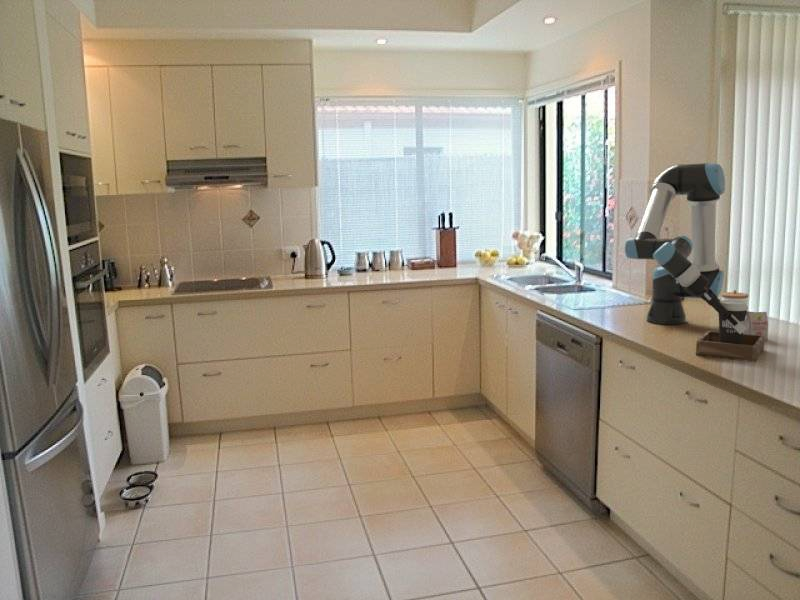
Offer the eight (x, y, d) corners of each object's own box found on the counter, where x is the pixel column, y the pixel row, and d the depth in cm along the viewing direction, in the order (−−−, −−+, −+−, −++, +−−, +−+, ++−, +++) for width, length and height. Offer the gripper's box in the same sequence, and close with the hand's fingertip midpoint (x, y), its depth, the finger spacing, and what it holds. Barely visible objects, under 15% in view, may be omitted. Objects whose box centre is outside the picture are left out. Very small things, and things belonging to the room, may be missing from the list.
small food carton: (743, 338, 254) (745, 311, 253) (762, 337, 254) (763, 310, 253) (748, 340, 251) (750, 313, 249) (767, 339, 251) (768, 312, 249)
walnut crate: (707, 344, 246) (708, 330, 245) (763, 350, 236) (764, 335, 235) (695, 355, 232) (696, 340, 231) (755, 361, 221) (756, 346, 221)
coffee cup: (710, 346, 233) (712, 302, 231) (720, 341, 240) (722, 298, 238) (740, 350, 227) (743, 305, 224) (749, 345, 234) (752, 301, 231)
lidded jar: (721, 313, 301) (722, 291, 300) (719, 308, 311) (720, 288, 310) (748, 314, 297) (750, 292, 296) (746, 309, 307) (747, 288, 306)
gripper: (682, 283, 246) (729, 328, 243) (685, 293, 225) (736, 342, 222) (699, 268, 243) (746, 314, 240) (703, 277, 222) (755, 327, 220)
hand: (741, 328), depth 231 cm, fingers closed on coffee cup, 9 cm apart
